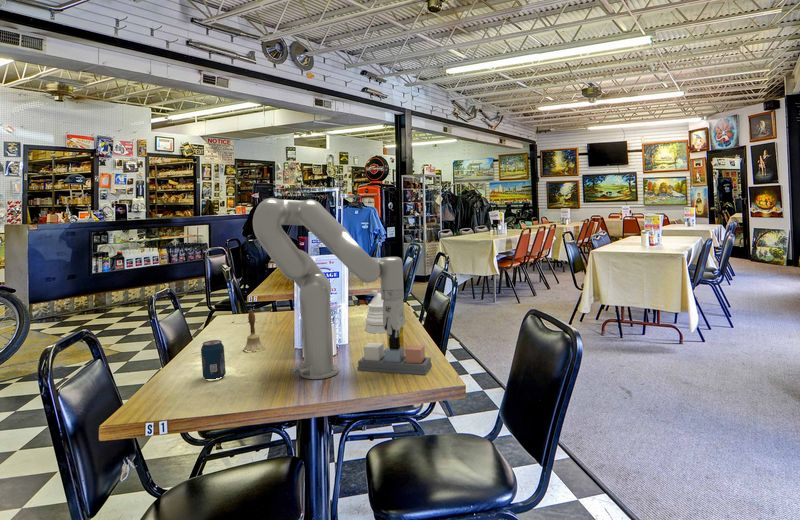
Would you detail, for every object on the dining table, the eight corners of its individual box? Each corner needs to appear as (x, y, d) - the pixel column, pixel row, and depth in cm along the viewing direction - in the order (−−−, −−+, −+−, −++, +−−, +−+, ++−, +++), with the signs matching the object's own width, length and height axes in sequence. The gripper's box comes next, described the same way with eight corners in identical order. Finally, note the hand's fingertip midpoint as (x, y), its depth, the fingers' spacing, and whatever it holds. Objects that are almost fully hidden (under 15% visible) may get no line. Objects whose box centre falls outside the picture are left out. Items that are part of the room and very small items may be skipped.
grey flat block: (431, 365, 156) (431, 357, 156) (425, 375, 148) (424, 365, 147) (367, 361, 163) (367, 353, 163) (357, 370, 155) (357, 361, 154)
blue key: (404, 359, 157) (403, 346, 157) (399, 364, 152) (399, 351, 152) (389, 359, 159) (389, 346, 158) (384, 363, 154) (384, 350, 153)
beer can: (402, 352, 172) (400, 313, 171) (386, 352, 174) (384, 313, 172) (405, 348, 178) (403, 309, 177) (389, 347, 180) (388, 309, 178)
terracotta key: (424, 358, 155) (424, 345, 154) (421, 363, 150) (420, 350, 149) (409, 357, 156) (409, 344, 156) (405, 362, 151) (405, 349, 151)
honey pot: (373, 335, 200) (372, 293, 198) (361, 329, 211) (359, 290, 210) (399, 330, 206) (398, 290, 204) (386, 325, 217) (385, 287, 216)
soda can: (203, 376, 154) (200, 341, 153) (225, 373, 156) (223, 338, 155) (202, 383, 147) (199, 346, 146) (226, 380, 150) (223, 343, 149)
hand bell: (265, 350, 182) (263, 310, 180) (243, 353, 179) (240, 313, 177) (263, 345, 189) (261, 307, 188) (242, 348, 186) (239, 309, 185)
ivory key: (384, 356, 159) (383, 343, 159) (379, 360, 154) (378, 347, 154) (369, 355, 161) (369, 342, 160) (364, 359, 156) (363, 346, 155)
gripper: (396, 298, 145) (398, 356, 147) (409, 290, 159) (411, 343, 161) (373, 298, 147) (376, 354, 149) (388, 290, 161) (391, 342, 163)
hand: (394, 348), depth 155 cm, fingers closed
